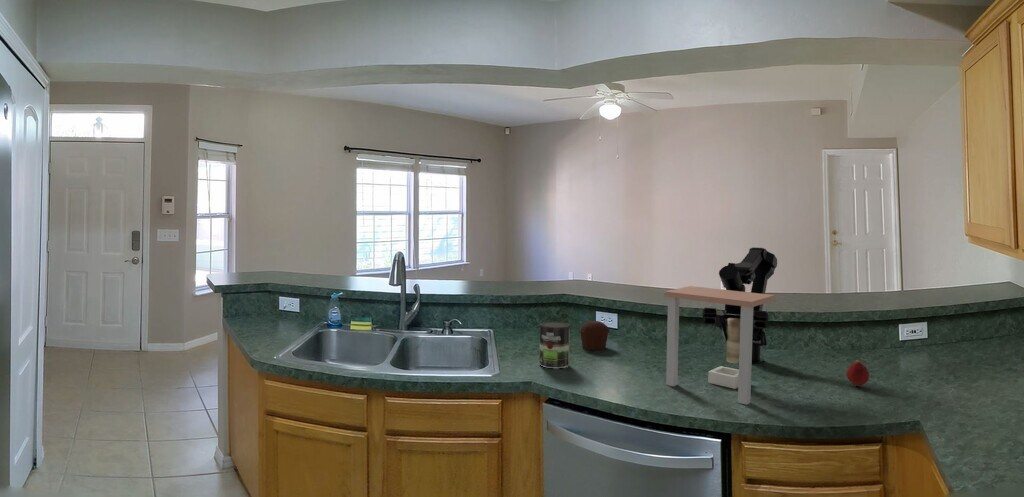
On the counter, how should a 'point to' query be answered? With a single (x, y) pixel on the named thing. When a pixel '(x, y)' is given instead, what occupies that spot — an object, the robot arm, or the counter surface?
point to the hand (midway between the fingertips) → (733, 340)
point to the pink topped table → (746, 329)
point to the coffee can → (554, 344)
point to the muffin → (594, 335)
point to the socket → (724, 377)
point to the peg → (733, 340)
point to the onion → (857, 373)
